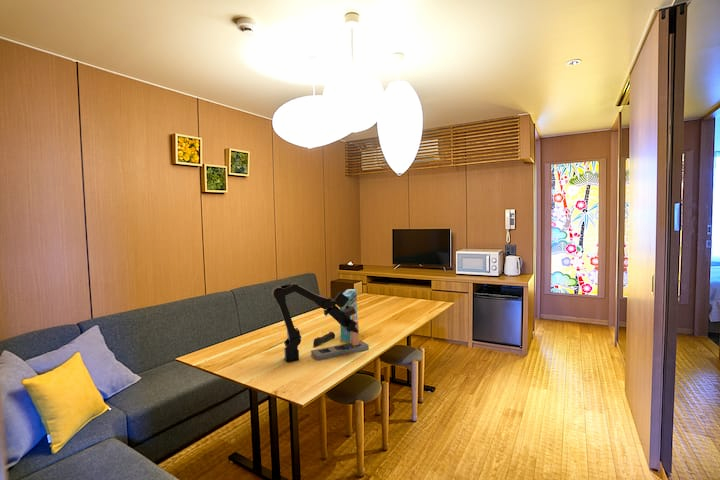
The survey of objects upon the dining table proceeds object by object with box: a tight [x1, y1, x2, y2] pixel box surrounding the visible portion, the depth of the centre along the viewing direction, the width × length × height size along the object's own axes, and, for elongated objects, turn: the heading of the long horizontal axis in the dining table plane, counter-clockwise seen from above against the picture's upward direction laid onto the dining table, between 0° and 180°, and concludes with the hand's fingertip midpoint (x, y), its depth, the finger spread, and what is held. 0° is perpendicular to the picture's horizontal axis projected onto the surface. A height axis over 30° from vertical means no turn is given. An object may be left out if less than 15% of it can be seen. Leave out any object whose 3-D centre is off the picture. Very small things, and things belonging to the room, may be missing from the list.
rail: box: [310, 340, 370, 361], centre depth 204 cm, size 30×9×2 cm, turn 117°
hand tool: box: [312, 331, 336, 348], centre depth 221 cm, size 19×4×5 cm, turn 148°
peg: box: [350, 320, 360, 346], centre depth 208 cm, size 4×4×13 cm
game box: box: [339, 288, 359, 343], centre depth 230 cm, size 20×6×27 cm, turn 168°
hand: (356, 331), depth 208 cm, fingers closed on peg, 3 cm apart
